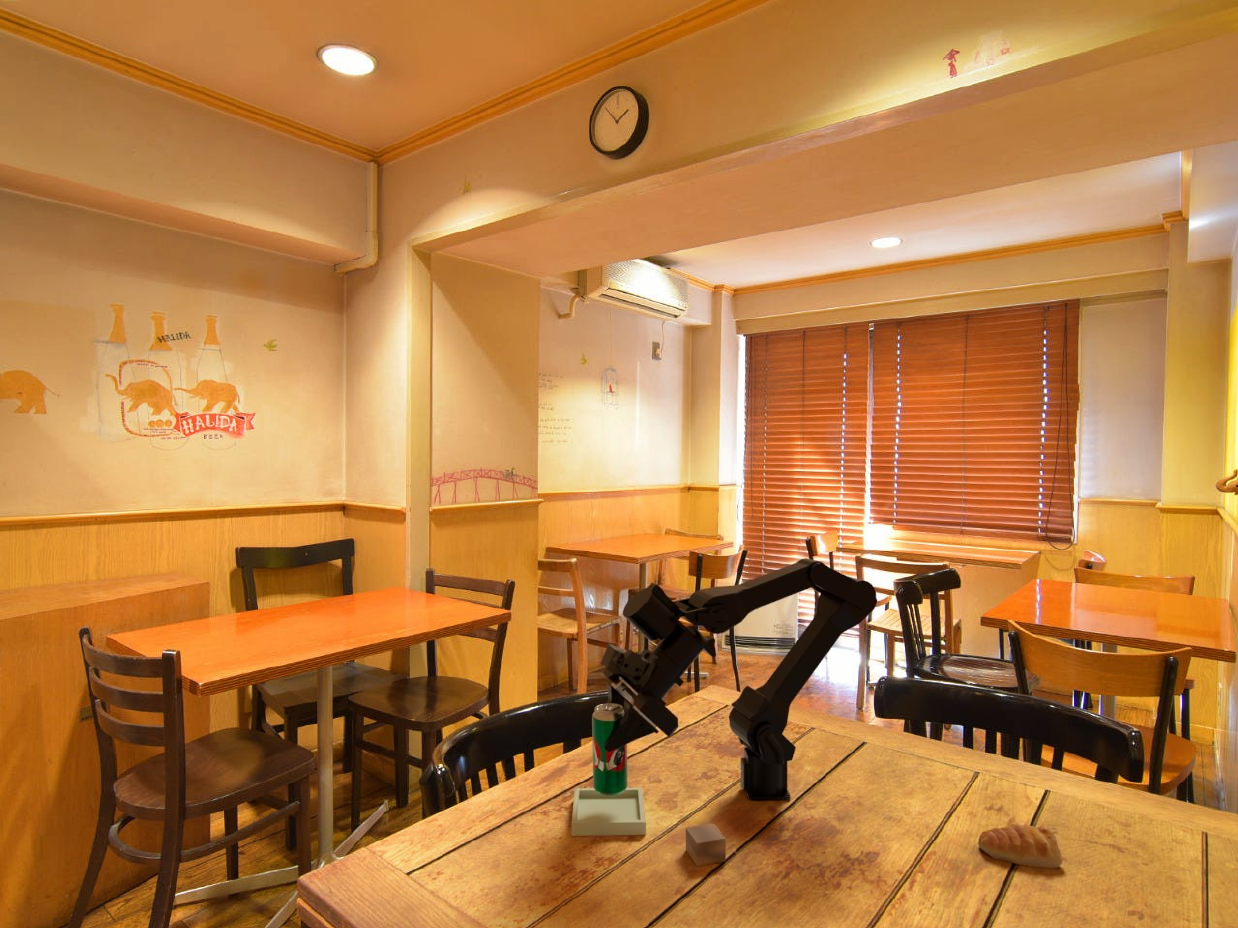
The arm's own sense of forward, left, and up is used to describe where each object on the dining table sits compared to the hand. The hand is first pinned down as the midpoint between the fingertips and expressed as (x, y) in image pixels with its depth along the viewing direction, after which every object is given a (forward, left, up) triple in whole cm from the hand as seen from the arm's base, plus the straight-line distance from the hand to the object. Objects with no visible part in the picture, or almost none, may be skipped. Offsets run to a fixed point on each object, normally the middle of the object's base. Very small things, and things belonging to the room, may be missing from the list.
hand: (600, 742), depth 104 cm
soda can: (-1, 0, -7) cm, 7 cm away
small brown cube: (-14, +10, -11) cm, 21 cm away
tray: (-1, 0, -11) cm, 11 cm away
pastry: (-56, +11, -12) cm, 58 cm away
